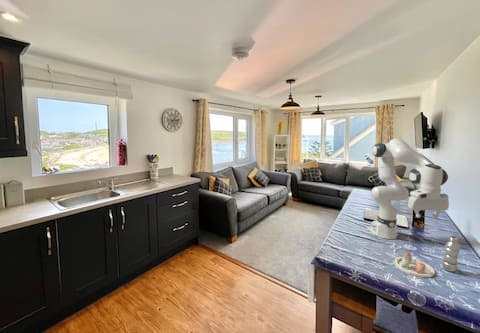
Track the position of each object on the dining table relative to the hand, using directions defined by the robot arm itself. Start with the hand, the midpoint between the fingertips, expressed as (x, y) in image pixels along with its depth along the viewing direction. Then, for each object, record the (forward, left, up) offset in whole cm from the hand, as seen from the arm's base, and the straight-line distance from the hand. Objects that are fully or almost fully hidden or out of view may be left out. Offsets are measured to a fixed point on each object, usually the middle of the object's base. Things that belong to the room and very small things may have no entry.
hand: (426, 217), depth 126 cm
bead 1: (-4, -5, -30) cm, 31 cm away
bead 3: (+6, -5, -30) cm, 31 cm away
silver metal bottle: (+2, +15, -31) cm, 35 cm away
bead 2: (+1, -10, -30) cm, 32 cm away
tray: (+1, -5, -31) cm, 32 cm away
